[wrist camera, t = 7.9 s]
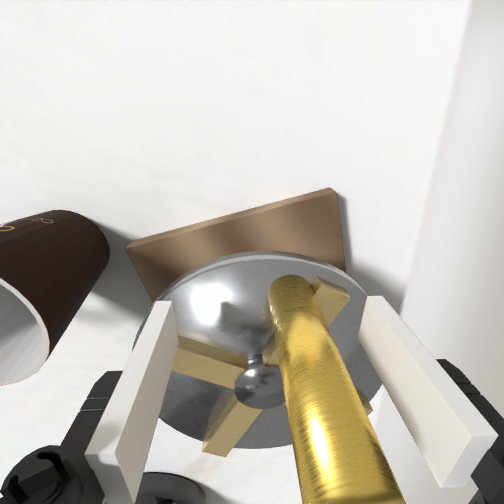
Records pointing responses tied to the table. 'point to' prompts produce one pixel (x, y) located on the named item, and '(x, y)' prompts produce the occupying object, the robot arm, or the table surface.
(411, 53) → the table surface
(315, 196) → the wheel stand
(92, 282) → the coffee mug
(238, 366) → the handwheel
